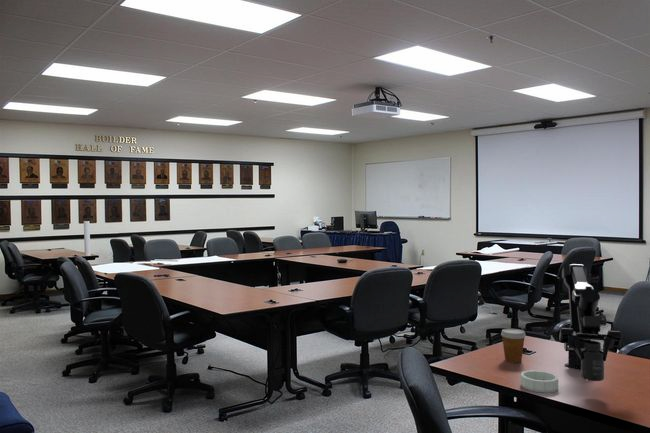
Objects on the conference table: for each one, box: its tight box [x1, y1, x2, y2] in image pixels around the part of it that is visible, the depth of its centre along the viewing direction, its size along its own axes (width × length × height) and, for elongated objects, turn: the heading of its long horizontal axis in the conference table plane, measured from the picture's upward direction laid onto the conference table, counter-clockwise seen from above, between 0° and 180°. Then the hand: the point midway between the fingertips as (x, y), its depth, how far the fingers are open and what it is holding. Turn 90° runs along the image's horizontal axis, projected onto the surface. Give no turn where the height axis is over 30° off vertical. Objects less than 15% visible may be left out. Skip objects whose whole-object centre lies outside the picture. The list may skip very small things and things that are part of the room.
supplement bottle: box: [580, 340, 605, 382], centre depth 175 cm, size 7×7×12 cm
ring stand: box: [520, 369, 559, 394], centre depth 184 cm, size 12×12×4 cm
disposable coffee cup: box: [500, 328, 526, 363], centre depth 216 cm, size 10×10×12 cm
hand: (593, 359), depth 174 cm, fingers closed on supplement bottle, 7 cm apart
